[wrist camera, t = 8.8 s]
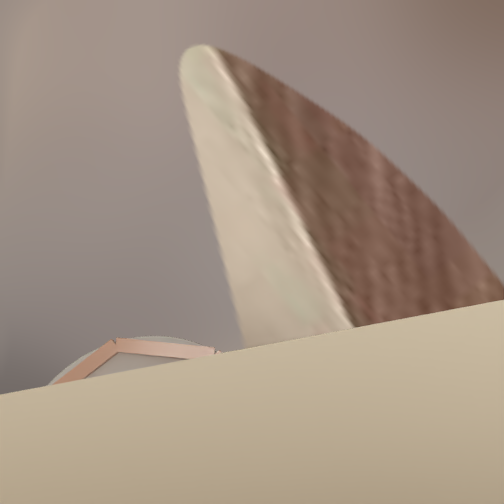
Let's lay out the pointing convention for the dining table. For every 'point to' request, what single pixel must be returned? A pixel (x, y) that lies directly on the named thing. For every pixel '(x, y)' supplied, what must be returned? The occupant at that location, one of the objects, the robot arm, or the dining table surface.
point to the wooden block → (277, 423)
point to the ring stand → (132, 356)
